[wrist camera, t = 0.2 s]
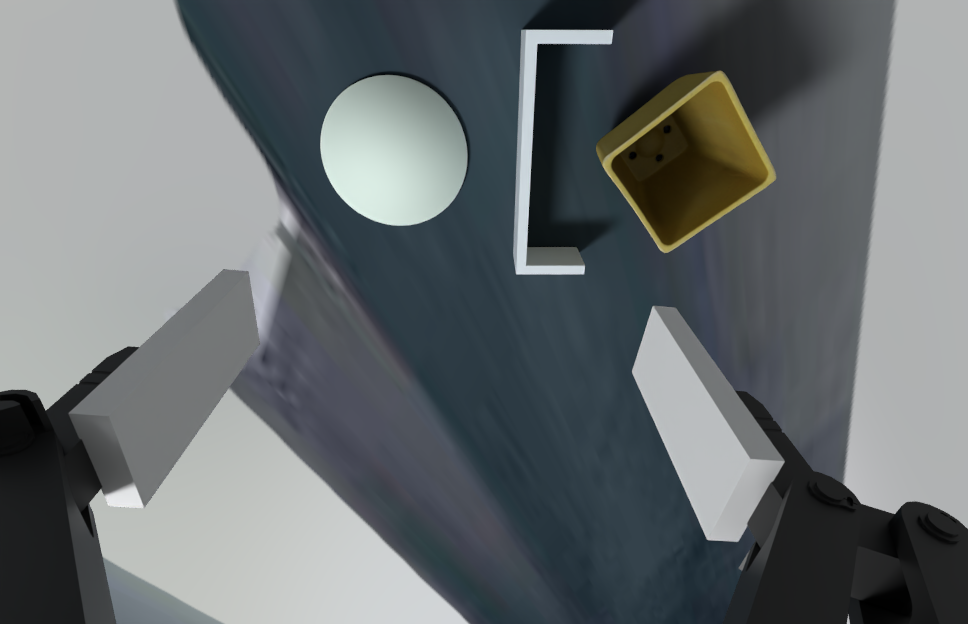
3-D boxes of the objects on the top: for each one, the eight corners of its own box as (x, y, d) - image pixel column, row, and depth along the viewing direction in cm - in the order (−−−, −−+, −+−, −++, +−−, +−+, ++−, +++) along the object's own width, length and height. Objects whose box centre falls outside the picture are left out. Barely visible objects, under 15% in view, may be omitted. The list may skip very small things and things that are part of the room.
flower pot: (722, 150, 40) (781, 179, 32) (631, 215, 43) (664, 256, 35) (671, 57, 36) (723, 66, 29) (575, 135, 39) (599, 161, 32)
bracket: (521, 29, 35) (526, 29, 32) (600, 29, 35) (613, 30, 32) (513, 255, 45) (516, 274, 41) (575, 255, 45) (584, 274, 41)
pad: (309, 74, 37) (308, 75, 37) (466, 74, 37) (466, 75, 37) (333, 224, 43) (332, 225, 43) (468, 224, 43) (468, 225, 43)
